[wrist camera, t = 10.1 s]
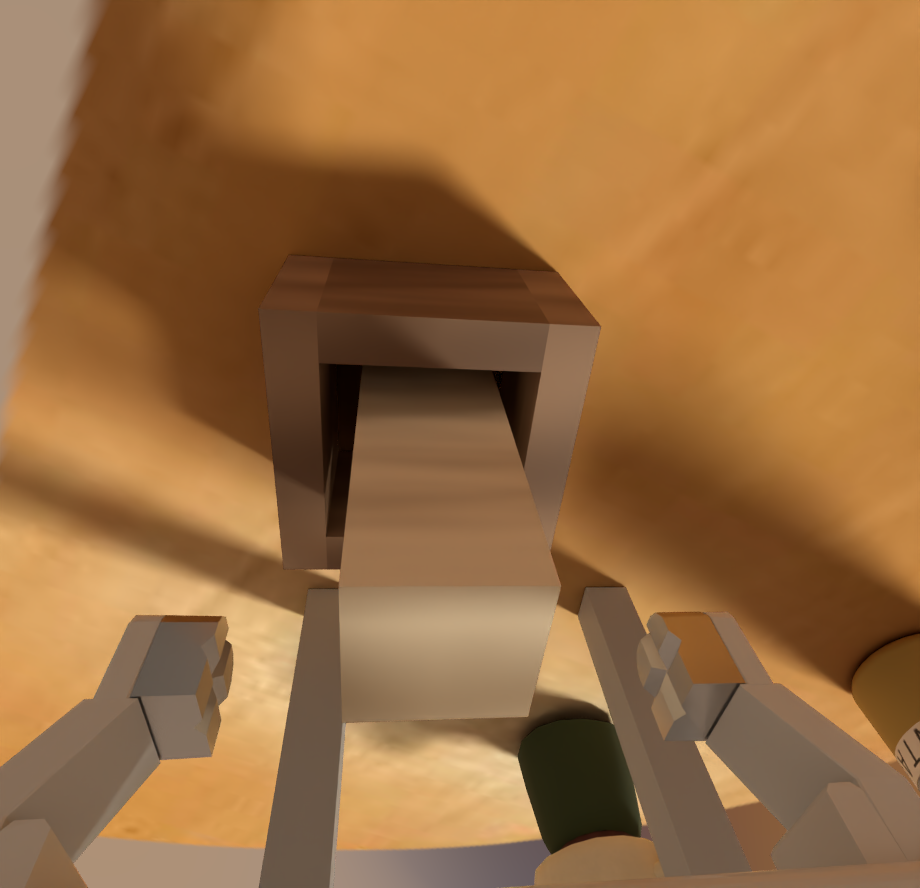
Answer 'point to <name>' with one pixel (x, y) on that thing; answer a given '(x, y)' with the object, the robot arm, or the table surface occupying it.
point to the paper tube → (894, 699)
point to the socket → (414, 345)
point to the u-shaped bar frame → (615, 659)
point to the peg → (440, 554)
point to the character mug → (585, 804)
